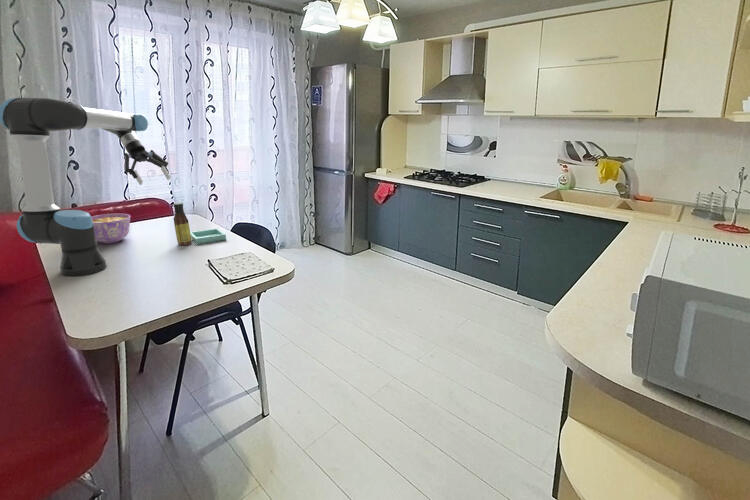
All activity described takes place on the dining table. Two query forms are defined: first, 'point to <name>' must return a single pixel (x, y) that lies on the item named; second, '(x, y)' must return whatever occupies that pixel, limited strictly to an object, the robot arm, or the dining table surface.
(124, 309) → the dining table surface
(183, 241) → the sauce bottle
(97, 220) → the bowl of food
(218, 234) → the tray
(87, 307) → the dining table surface
